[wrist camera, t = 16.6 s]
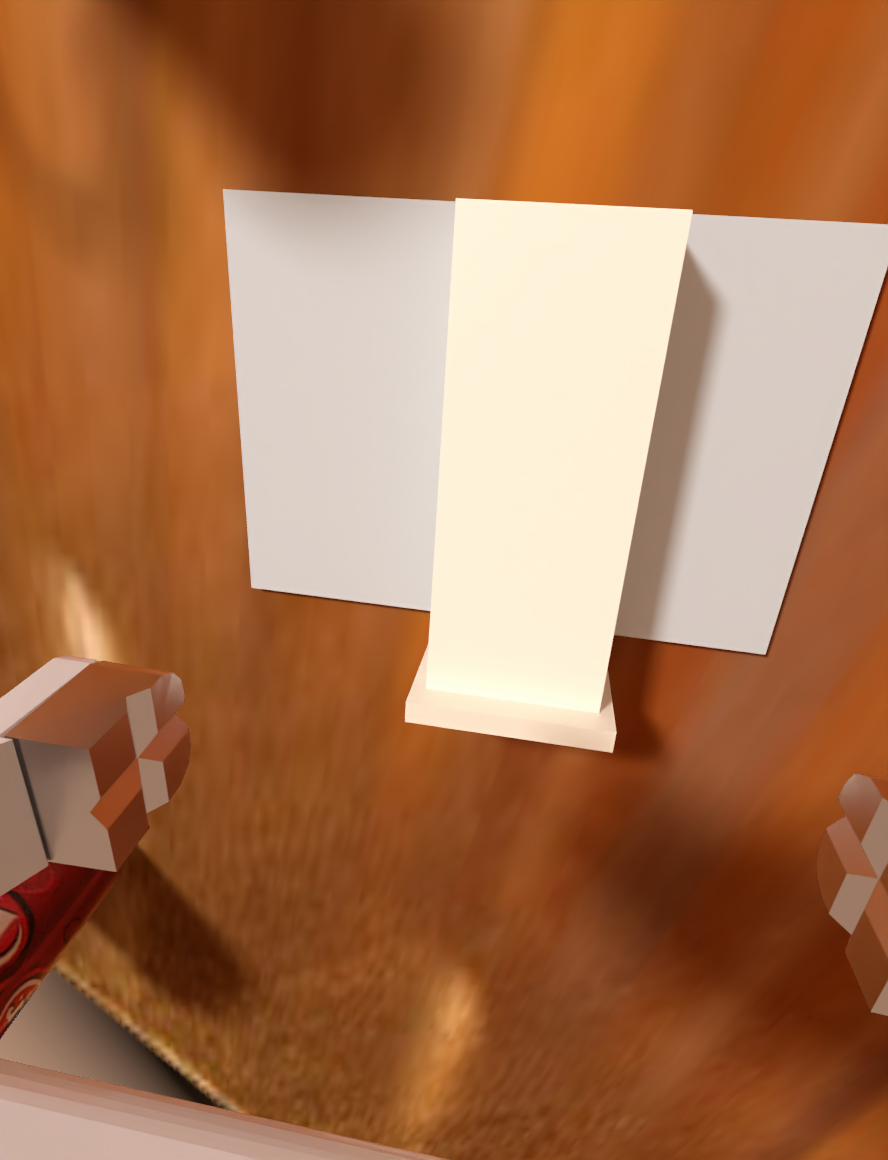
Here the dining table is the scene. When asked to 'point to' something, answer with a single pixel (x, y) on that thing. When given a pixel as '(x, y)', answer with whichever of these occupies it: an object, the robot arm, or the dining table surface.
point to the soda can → (43, 927)
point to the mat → (416, 392)
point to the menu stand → (543, 460)
